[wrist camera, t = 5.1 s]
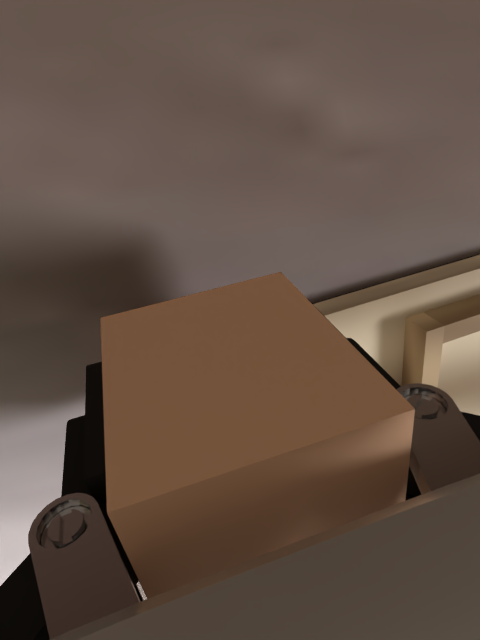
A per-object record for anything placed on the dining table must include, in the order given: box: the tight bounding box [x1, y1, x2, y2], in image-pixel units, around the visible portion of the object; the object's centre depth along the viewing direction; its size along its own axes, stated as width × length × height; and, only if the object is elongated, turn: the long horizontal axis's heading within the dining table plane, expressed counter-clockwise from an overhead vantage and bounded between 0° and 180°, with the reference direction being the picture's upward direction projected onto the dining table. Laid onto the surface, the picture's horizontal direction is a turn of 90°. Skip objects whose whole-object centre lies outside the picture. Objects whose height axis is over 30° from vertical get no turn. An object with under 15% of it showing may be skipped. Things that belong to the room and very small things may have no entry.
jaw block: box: [100, 272, 415, 599], centre depth 10 cm, size 5×5×6 cm
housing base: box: [313, 255, 480, 416], centre depth 23 cm, size 24×18×2 cm
